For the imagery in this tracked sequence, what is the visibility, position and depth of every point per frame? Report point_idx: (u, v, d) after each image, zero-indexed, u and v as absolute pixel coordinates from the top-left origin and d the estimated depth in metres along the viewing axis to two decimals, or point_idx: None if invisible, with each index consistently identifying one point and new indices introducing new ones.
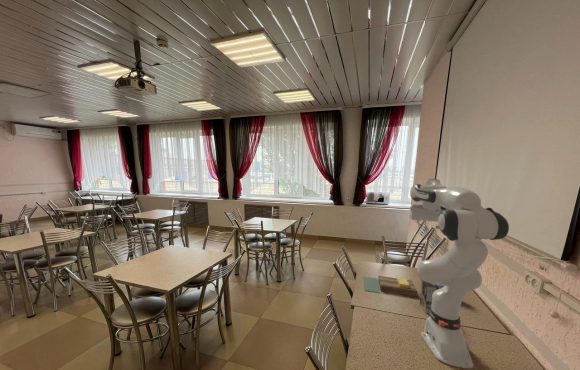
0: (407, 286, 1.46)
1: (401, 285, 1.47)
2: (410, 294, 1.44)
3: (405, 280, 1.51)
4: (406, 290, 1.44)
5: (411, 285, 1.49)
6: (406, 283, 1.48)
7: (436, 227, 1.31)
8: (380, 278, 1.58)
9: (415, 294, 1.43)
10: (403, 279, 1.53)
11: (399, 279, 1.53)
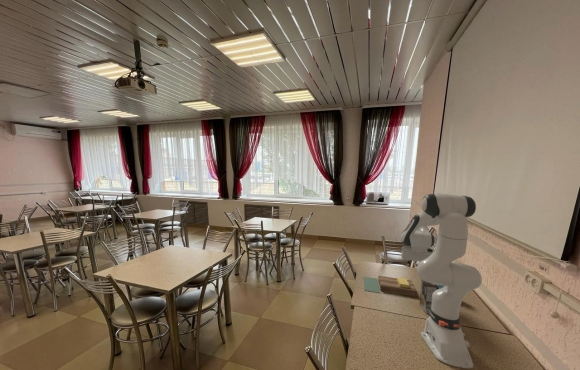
0: (407, 286, 1.46)
1: (401, 285, 1.47)
2: (410, 294, 1.44)
3: (405, 280, 1.51)
4: (406, 290, 1.44)
5: (411, 285, 1.49)
6: (406, 283, 1.48)
7: (417, 265, 1.47)
8: (380, 278, 1.58)
9: (415, 294, 1.43)
10: (403, 279, 1.53)
11: (399, 279, 1.53)
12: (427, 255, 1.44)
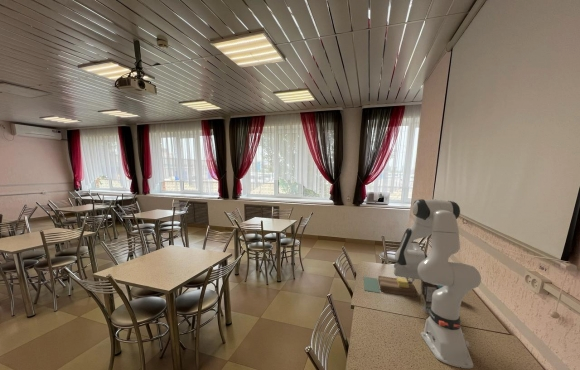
0: (406, 286, 1.46)
1: (400, 285, 1.47)
2: (410, 294, 1.44)
3: (405, 280, 1.51)
4: (406, 290, 1.44)
5: (411, 285, 1.49)
6: (405, 283, 1.48)
7: None
8: (380, 278, 1.58)
9: (415, 294, 1.43)
10: (403, 279, 1.53)
11: (398, 279, 1.53)
12: None
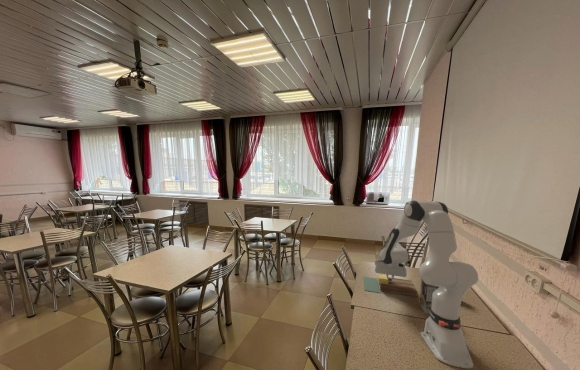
0: (386, 282, 1.50)
1: (380, 281, 1.51)
2: (410, 294, 1.44)
3: (385, 277, 1.55)
4: (406, 290, 1.44)
5: (411, 285, 1.49)
6: (385, 280, 1.52)
7: None
8: None
9: (415, 294, 1.43)
10: (383, 276, 1.57)
11: (379, 276, 1.57)
12: (399, 269, 1.50)
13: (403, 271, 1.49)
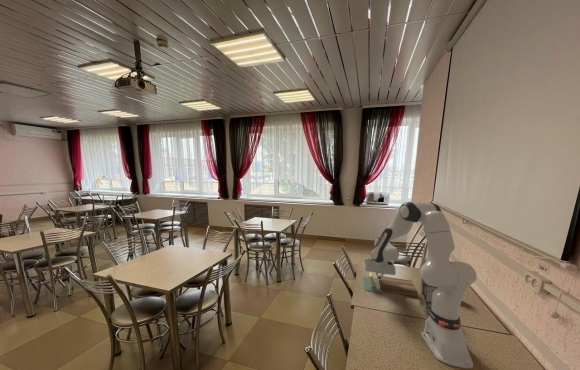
0: (371, 280, 1.53)
1: (373, 285, 1.53)
2: (410, 294, 1.44)
3: None
4: (406, 290, 1.44)
5: (411, 285, 1.49)
6: (370, 279, 1.55)
7: None
8: None
9: (415, 294, 1.43)
10: None
11: None
12: (388, 267, 1.52)
13: (392, 269, 1.51)
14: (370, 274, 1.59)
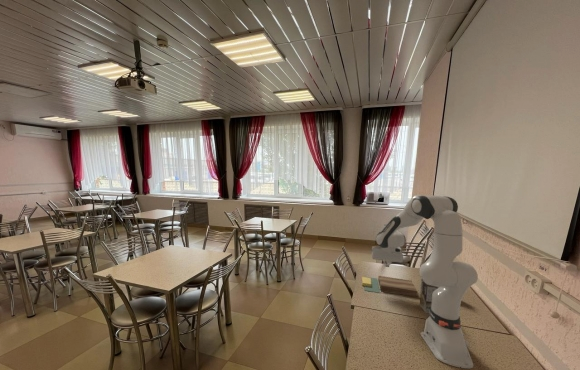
0: (364, 284, 1.54)
1: (369, 285, 1.53)
2: (410, 294, 1.44)
3: None
4: (406, 290, 1.44)
5: (411, 285, 1.49)
6: None
7: None
8: (380, 278, 1.58)
9: (415, 294, 1.43)
10: None
11: None
12: (395, 255, 1.49)
13: (400, 256, 1.48)
14: (362, 280, 1.60)
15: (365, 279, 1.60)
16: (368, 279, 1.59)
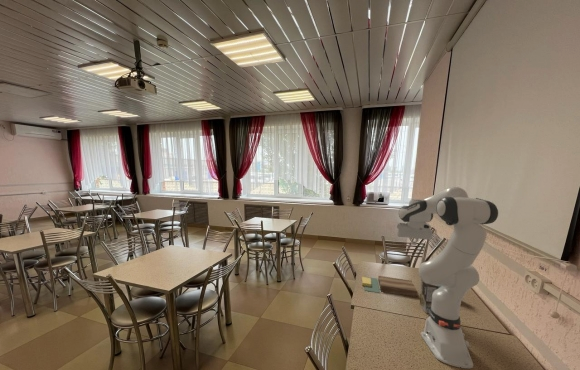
0: (364, 284, 1.54)
1: (369, 285, 1.53)
2: (410, 294, 1.44)
3: None
4: (406, 290, 1.44)
5: (411, 285, 1.49)
6: None
7: None
8: (380, 278, 1.58)
9: (415, 294, 1.43)
10: None
11: None
12: (423, 232, 1.40)
13: (428, 233, 1.39)
14: (362, 280, 1.60)
15: (365, 279, 1.60)
16: (368, 279, 1.59)
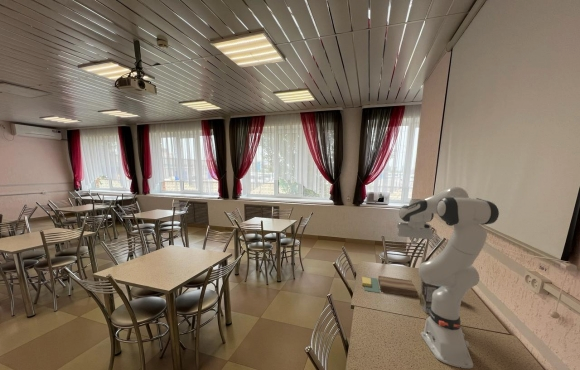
0: (364, 284, 1.54)
1: (369, 285, 1.53)
2: (410, 294, 1.44)
3: None
4: (406, 290, 1.44)
5: (411, 285, 1.49)
6: None
7: None
8: (380, 278, 1.58)
9: (415, 294, 1.43)
10: None
11: None
12: (424, 231, 1.40)
13: (429, 233, 1.39)
14: (362, 280, 1.60)
15: (365, 279, 1.60)
16: (368, 279, 1.59)
